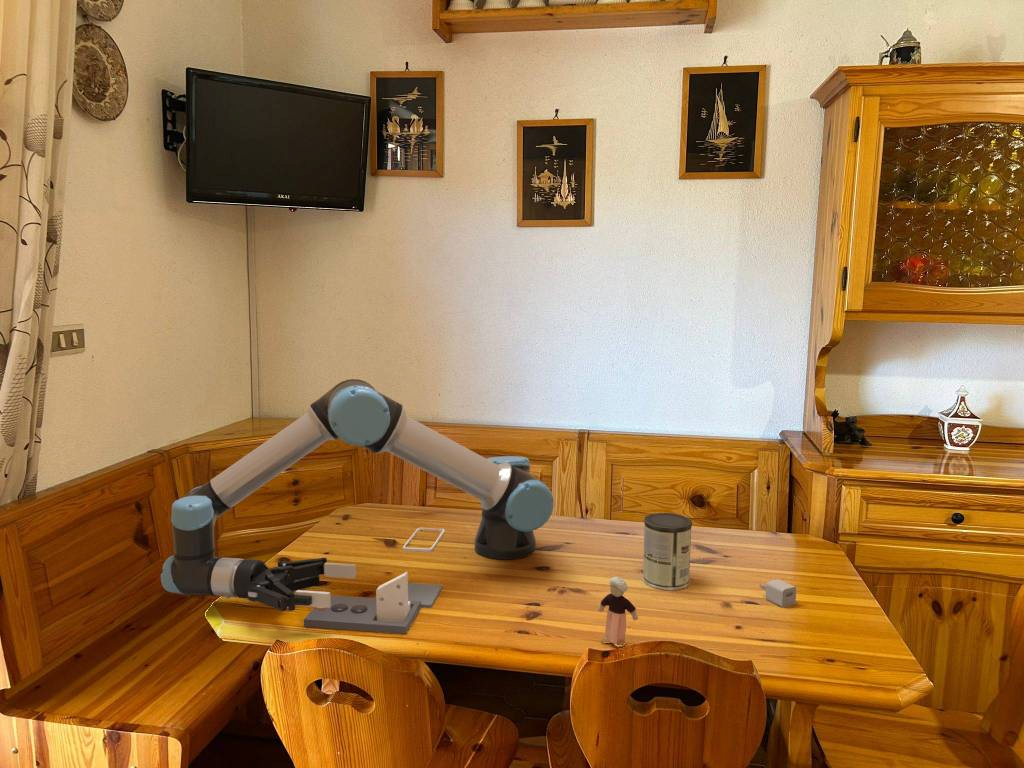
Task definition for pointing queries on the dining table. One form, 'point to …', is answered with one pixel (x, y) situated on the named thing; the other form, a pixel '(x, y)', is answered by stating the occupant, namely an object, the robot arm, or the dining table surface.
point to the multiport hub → (304, 583)
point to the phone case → (423, 548)
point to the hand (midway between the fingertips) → (343, 585)
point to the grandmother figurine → (617, 612)
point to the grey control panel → (357, 616)
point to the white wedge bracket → (393, 600)
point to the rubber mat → (424, 593)
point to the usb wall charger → (780, 593)
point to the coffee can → (667, 551)
